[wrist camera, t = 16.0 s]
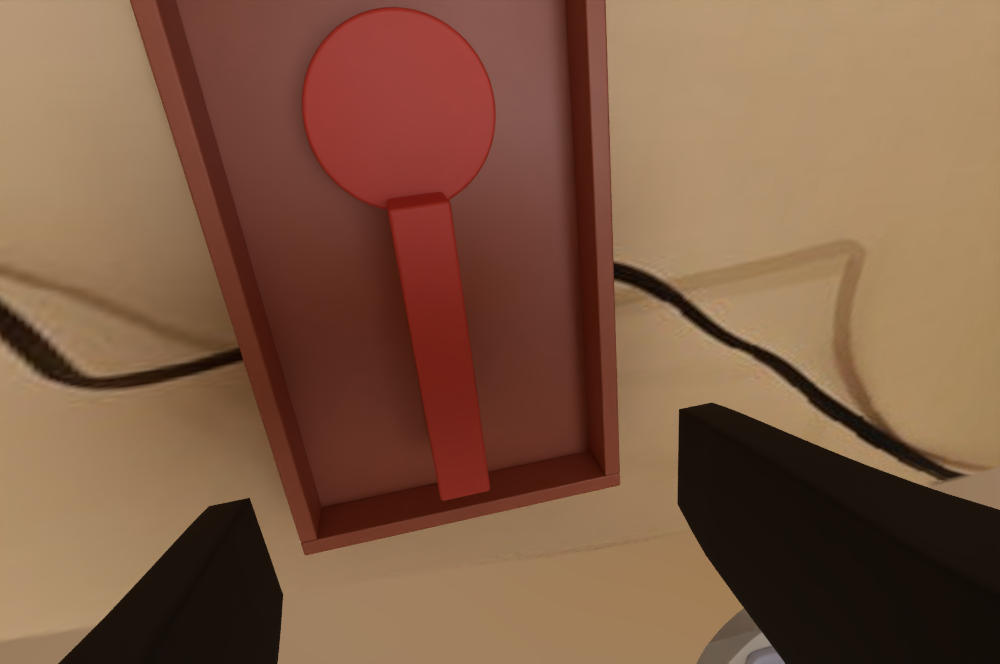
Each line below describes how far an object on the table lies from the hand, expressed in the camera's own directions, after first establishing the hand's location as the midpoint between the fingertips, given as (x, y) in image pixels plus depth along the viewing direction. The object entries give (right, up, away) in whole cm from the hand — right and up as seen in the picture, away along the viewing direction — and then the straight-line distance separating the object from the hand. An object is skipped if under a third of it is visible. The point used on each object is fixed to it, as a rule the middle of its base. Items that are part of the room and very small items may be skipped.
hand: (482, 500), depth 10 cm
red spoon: (-2, +5, +6) cm, 8 cm away
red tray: (-2, +5, +7) cm, 9 cm away
